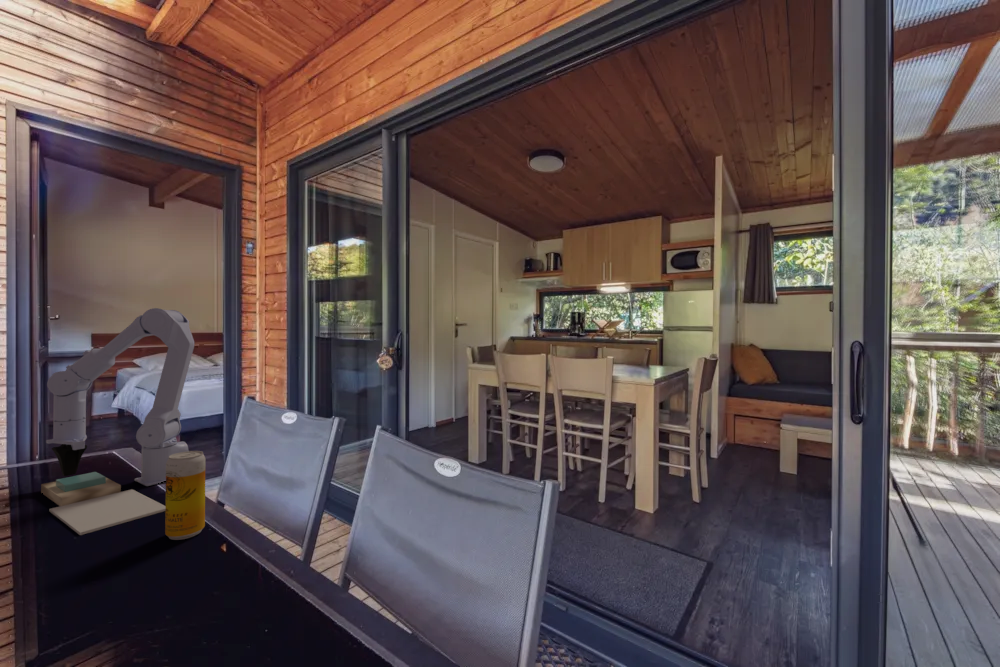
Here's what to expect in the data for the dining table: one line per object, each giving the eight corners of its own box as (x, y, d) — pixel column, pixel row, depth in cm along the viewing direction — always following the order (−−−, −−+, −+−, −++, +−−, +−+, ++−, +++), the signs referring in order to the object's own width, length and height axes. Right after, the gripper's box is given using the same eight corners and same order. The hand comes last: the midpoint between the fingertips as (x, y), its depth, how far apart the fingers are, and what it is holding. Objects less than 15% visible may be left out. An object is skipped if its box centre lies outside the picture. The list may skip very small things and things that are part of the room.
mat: (132, 491, 103) (132, 489, 103) (168, 509, 93) (168, 507, 93) (49, 511, 92) (49, 508, 92) (80, 535, 81) (80, 532, 81)
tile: (95, 477, 107) (95, 471, 107) (105, 483, 103) (105, 476, 103) (55, 486, 101) (55, 479, 101) (65, 492, 97) (65, 485, 97)
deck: (97, 480, 111) (97, 472, 111) (120, 493, 102) (120, 485, 102) (41, 492, 102) (41, 484, 102) (61, 507, 94) (61, 498, 94)
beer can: (157, 538, 80) (157, 457, 80) (189, 524, 86) (189, 449, 86) (181, 543, 78) (182, 460, 78) (212, 529, 84) (213, 451, 84)
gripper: (38, 418, 107) (38, 473, 107) (55, 425, 100) (55, 484, 100) (77, 414, 113) (76, 466, 113) (96, 420, 106) (95, 476, 105)
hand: (69, 474), depth 107 cm, fingers closed
